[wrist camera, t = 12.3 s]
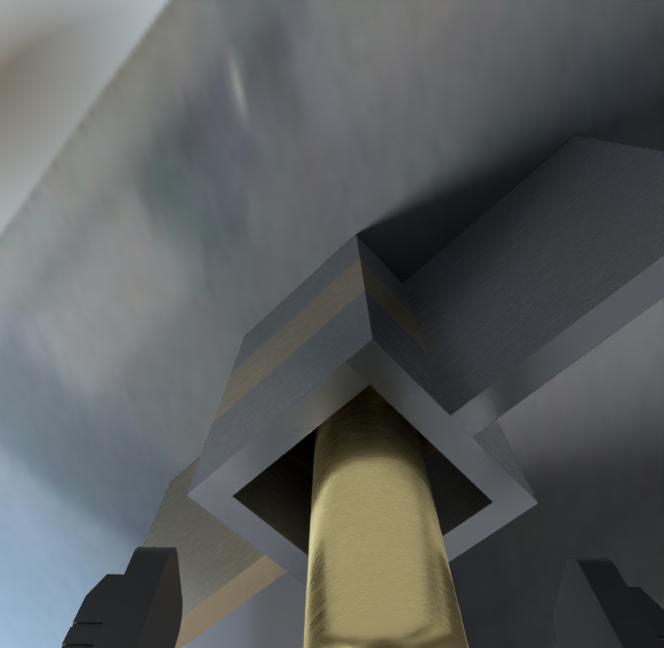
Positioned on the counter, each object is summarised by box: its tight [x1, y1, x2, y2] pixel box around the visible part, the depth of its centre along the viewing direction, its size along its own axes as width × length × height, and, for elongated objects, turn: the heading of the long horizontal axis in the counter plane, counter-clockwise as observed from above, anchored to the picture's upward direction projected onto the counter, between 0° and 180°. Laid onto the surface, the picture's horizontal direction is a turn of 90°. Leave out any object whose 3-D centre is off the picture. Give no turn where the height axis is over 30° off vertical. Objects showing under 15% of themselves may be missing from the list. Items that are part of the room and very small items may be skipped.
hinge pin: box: [303, 385, 469, 648], centre depth 16 cm, size 3×3×14 cm
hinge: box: [143, 136, 664, 648], centre depth 18 cm, size 22×6×10 cm, turn 133°
